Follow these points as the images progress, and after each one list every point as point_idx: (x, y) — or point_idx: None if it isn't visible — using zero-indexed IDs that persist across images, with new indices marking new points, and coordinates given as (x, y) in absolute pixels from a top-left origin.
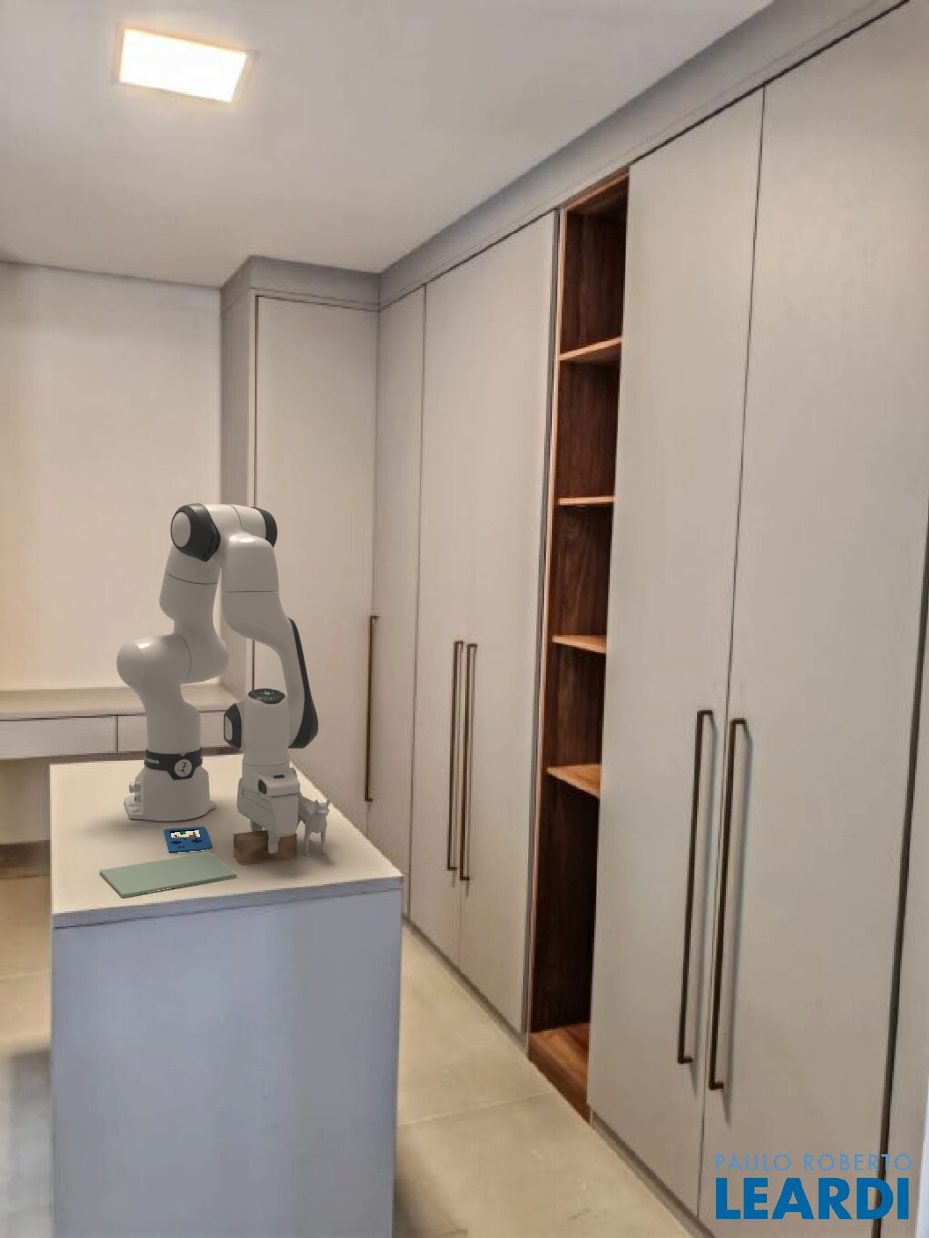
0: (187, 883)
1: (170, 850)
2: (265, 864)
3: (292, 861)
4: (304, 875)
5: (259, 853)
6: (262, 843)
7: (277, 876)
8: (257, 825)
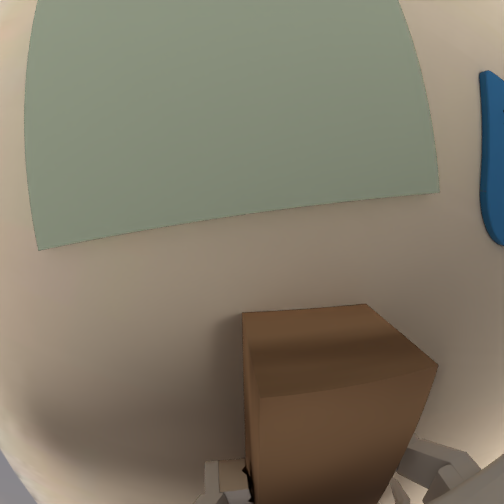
0: (33, 22)
1: (490, 74)
2: (196, 411)
3: (202, 479)
4: (56, 457)
5: (248, 426)
6: (254, 474)
7: (45, 399)
8: (434, 476)
